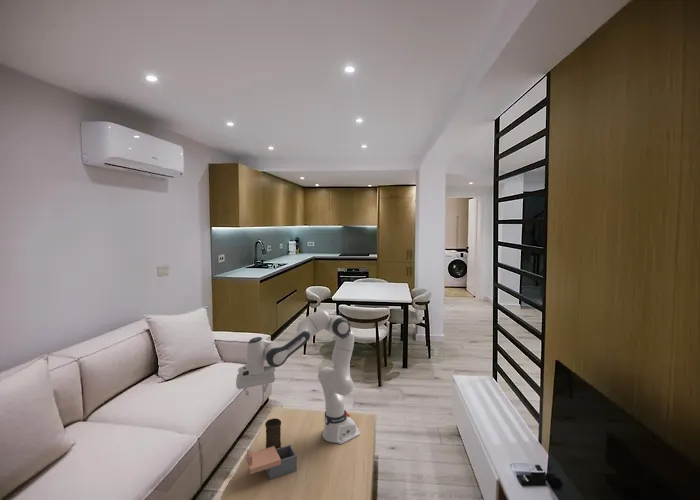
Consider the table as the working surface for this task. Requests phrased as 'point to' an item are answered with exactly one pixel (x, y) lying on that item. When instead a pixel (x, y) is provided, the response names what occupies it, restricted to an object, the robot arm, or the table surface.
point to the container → (273, 433)
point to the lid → (262, 459)
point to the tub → (284, 462)
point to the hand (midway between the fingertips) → (255, 392)
